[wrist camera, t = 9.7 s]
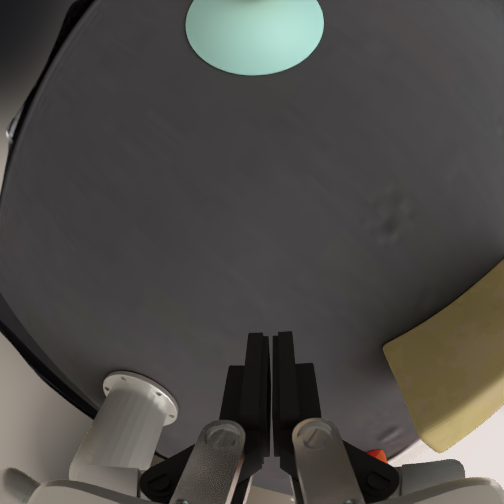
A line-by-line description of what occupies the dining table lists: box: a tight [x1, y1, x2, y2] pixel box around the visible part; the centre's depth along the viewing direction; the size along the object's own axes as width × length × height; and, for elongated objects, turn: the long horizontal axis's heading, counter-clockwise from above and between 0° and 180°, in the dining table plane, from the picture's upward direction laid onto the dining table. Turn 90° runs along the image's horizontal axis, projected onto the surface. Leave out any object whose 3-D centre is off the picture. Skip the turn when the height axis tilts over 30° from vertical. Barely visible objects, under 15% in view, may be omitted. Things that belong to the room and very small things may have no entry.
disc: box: [186, 0, 324, 75], centre depth 19 cm, size 13×13×1 cm
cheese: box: [383, 259, 504, 453], centre depth 22 cm, size 22×10×15 cm, turn 134°
